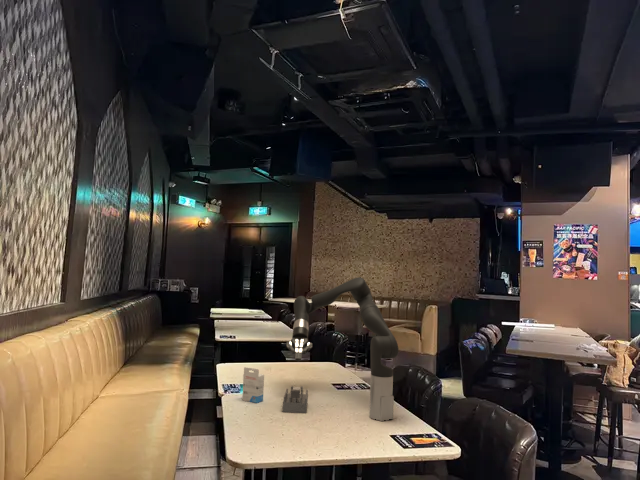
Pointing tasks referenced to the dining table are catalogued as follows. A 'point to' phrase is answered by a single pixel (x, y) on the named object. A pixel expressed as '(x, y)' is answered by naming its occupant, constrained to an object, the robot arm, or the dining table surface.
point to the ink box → (252, 385)
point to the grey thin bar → (296, 388)
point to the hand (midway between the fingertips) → (298, 360)
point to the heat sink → (295, 401)
